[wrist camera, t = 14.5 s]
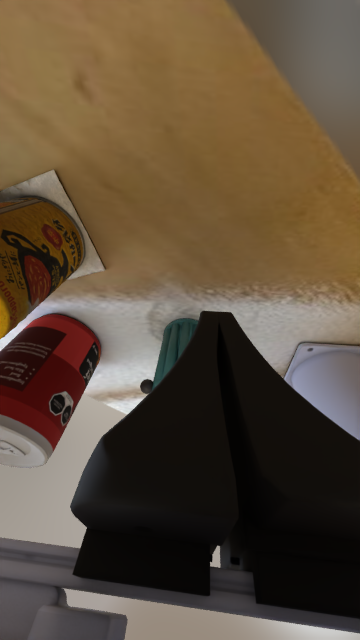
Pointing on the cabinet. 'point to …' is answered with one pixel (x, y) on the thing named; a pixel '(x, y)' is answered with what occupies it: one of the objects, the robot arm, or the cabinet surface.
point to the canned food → (42, 386)
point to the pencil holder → (170, 349)
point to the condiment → (39, 246)
